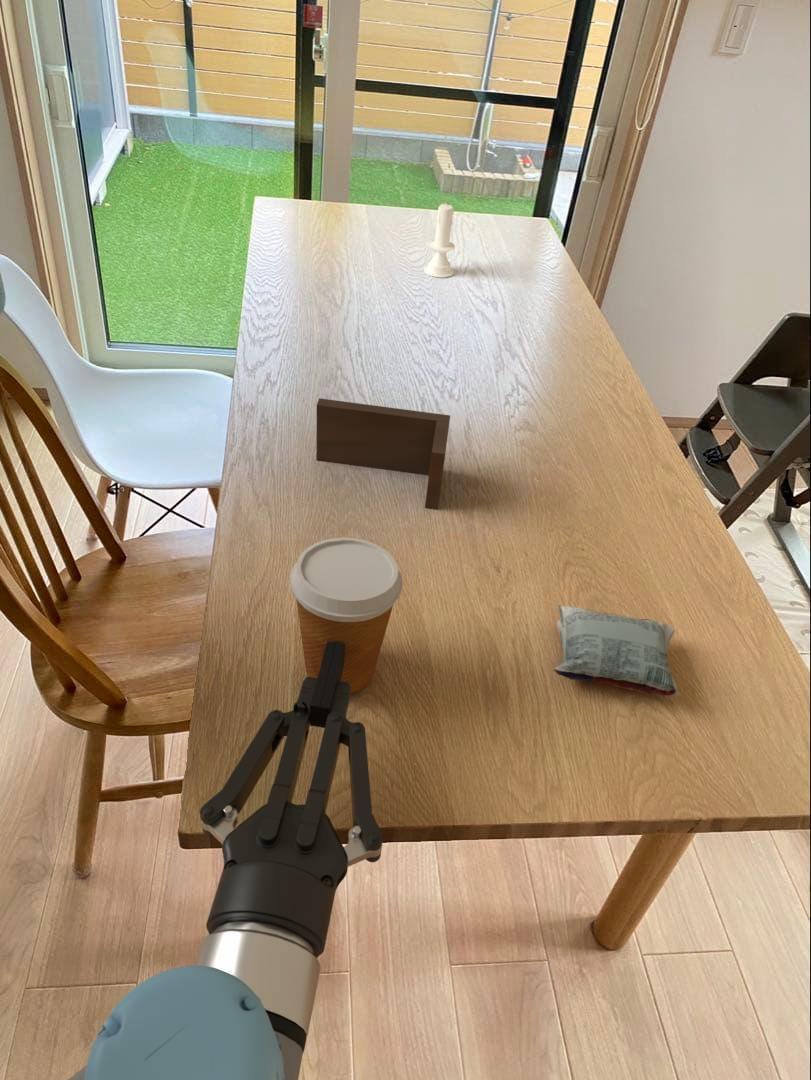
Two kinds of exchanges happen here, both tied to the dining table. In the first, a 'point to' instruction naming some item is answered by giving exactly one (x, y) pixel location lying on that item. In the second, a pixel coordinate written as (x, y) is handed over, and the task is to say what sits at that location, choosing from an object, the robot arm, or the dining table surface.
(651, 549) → the dining table surface
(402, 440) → the corner
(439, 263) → the candle
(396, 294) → the dining table surface
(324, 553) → the disposable coffee cup
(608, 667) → the packaged food
